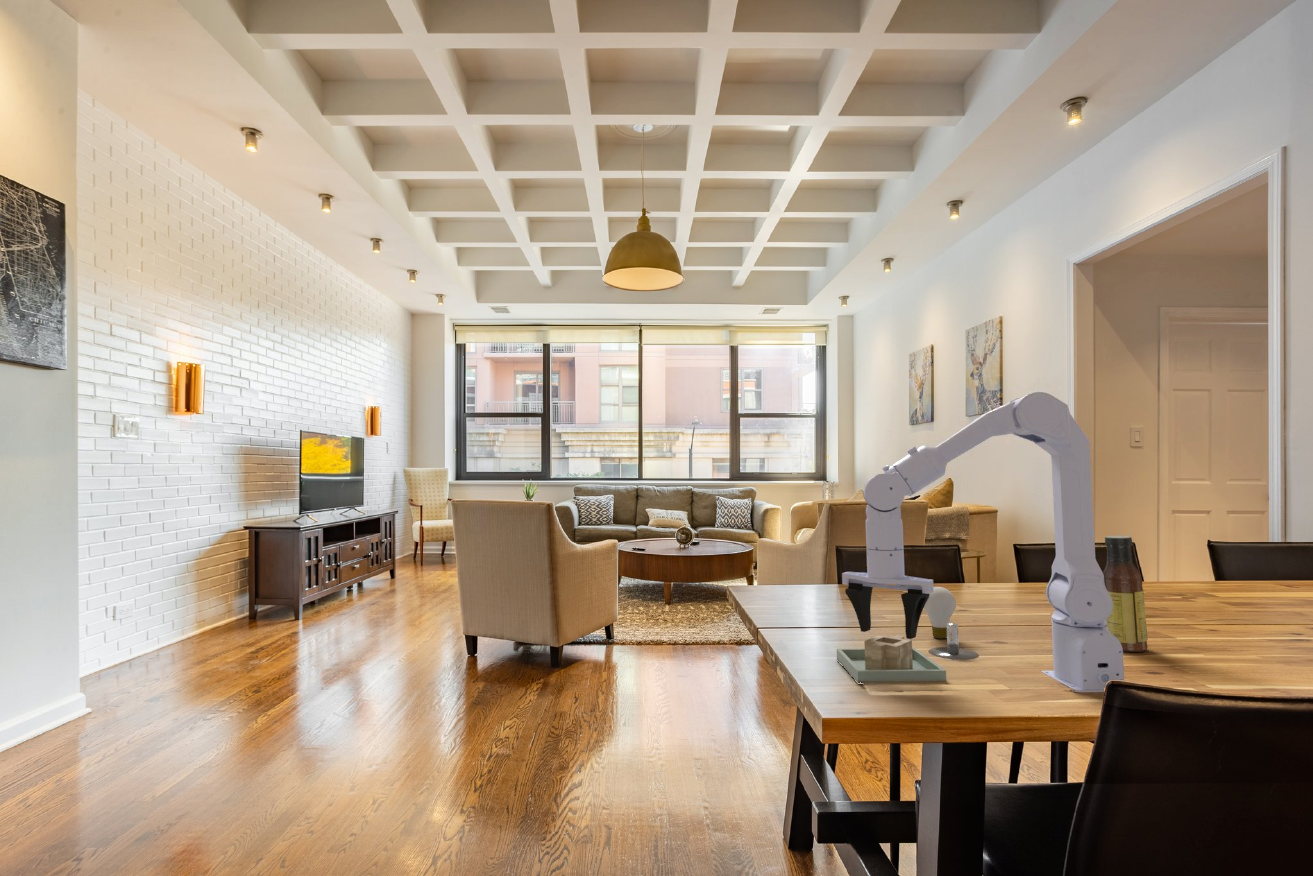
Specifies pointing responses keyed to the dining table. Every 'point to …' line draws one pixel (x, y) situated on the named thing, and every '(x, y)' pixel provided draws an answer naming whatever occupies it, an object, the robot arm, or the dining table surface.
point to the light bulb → (940, 610)
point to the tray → (920, 672)
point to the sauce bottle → (1125, 595)
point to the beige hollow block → (888, 653)
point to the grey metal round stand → (953, 646)
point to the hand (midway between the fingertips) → (887, 634)
